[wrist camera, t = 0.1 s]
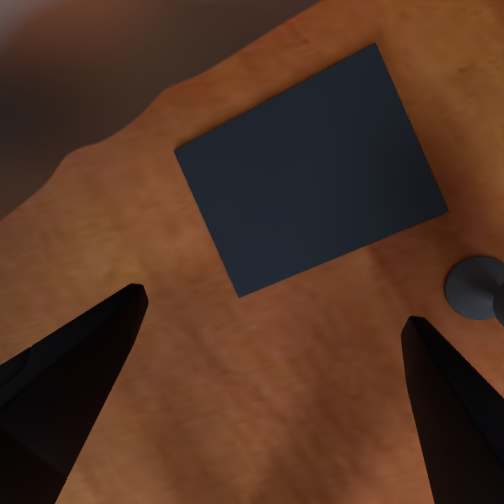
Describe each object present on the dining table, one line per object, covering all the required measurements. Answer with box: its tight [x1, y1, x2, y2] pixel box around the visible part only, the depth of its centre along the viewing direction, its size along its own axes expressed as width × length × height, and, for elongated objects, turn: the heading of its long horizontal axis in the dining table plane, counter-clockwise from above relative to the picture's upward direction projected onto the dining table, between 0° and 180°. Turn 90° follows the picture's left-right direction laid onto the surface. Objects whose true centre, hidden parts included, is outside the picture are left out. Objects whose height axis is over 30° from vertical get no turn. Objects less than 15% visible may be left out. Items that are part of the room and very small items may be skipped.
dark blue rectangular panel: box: [174, 43, 448, 298], centre depth 24 cm, size 14×18×1 cm
